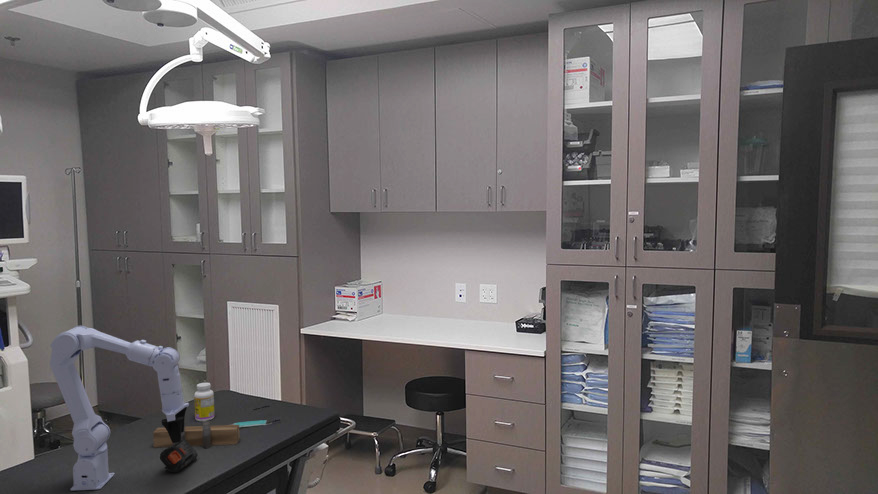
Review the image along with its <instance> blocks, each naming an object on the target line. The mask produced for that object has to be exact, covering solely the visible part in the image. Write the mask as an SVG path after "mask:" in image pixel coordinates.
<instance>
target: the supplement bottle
mask: <svg viewBox="0 0 878 494" xmlns="http://www.w3.org/2000/svg"><path fill="white" fill-rule="evenodd" d="M211 387H212V384H211V383H210V382H200V383H198V384H196V389H197V390H196V391H195V392H194V394H193V397H194V398H193V399H194V400H193V401H194V419H195V421H197V422H199V423H200V422H201V423H203V422H206V421H211V420H213V419H214V418H215V396H214V395H215V394H214V391H213V390H212V389H211Z"/></svg>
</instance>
